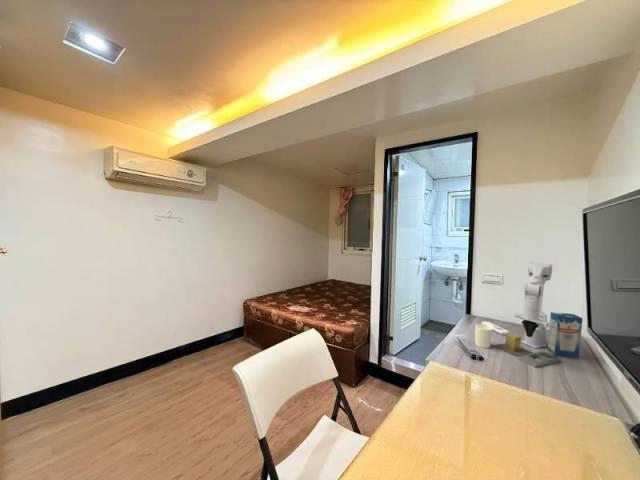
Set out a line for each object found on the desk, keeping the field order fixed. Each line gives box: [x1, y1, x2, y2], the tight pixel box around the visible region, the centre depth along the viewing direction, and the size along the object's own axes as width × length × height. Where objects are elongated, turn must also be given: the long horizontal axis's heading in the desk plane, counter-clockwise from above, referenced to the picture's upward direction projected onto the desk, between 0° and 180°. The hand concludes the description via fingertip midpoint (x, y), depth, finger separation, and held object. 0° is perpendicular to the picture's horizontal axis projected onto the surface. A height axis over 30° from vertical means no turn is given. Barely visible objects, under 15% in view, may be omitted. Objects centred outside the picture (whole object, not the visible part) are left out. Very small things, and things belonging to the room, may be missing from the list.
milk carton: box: [547, 311, 583, 360], centre depth 134 cm, size 10×6×20 cm, turn 76°
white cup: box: [474, 323, 494, 349], centre depth 141 cm, size 8×8×10 cm
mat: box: [492, 342, 534, 358], centre depth 138 cm, size 12×12×1 cm
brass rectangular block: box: [505, 333, 522, 351], centre depth 138 cm, size 4×4×7 cm
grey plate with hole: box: [518, 350, 562, 368], centre depth 127 cm, size 18×7×2 cm, turn 110°
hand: (529, 336), depth 130 cm, fingers closed
